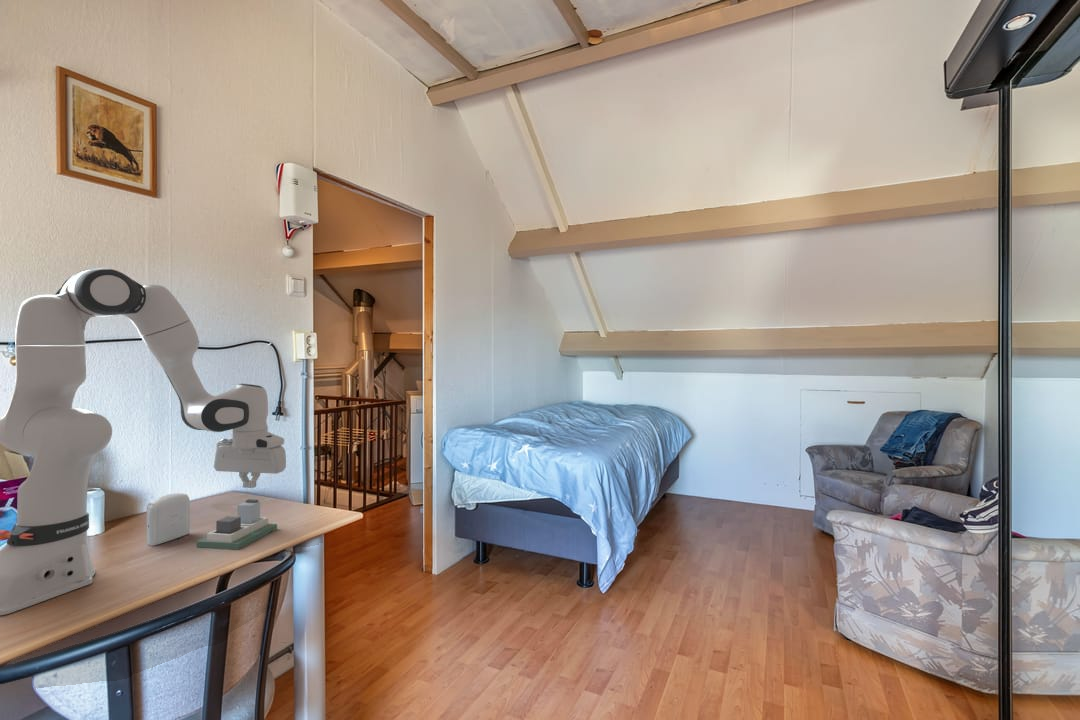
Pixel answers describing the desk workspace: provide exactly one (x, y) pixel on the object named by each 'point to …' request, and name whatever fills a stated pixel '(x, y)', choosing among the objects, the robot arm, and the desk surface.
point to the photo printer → (168, 518)
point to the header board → (235, 533)
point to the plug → (249, 511)
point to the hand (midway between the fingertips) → (249, 487)
